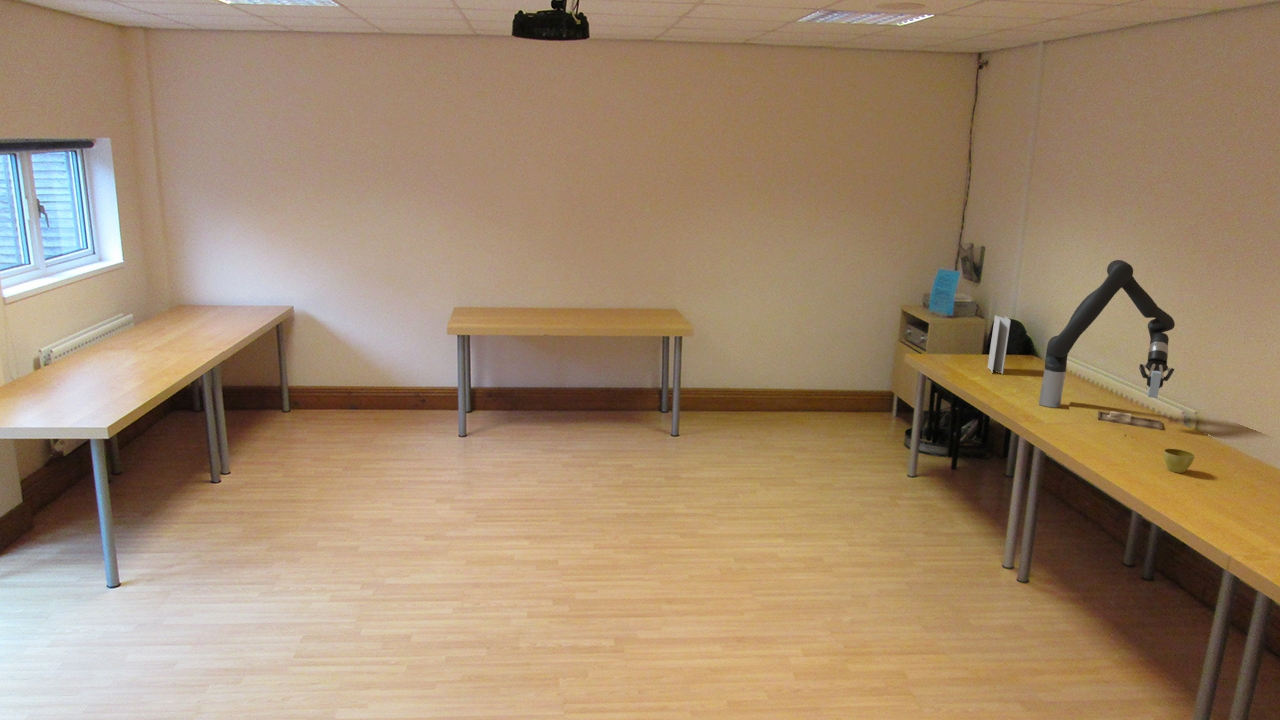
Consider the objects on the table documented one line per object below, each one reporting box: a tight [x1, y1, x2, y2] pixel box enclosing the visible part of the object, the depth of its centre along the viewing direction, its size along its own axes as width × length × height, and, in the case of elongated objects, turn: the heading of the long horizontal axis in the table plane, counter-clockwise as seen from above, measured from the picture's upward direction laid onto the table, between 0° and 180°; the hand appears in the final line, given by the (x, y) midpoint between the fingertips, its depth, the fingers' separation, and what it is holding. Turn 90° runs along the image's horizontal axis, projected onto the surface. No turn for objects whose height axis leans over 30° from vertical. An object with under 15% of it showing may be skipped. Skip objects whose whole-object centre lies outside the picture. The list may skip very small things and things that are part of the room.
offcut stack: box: [1107, 410, 1132, 422], centre depth 389 cm, size 9×4×4 cm, turn 63°
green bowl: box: [1163, 448, 1196, 474], centre depth 331 cm, size 10×10×7 cm
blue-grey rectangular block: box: [1147, 370, 1162, 399], centre depth 385 cm, size 3×5×11 cm, turn 153°
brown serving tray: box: [1097, 410, 1164, 431], centre depth 391 cm, size 25×13×2 cm, turn 63°
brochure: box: [987, 314, 1012, 375], centre depth 480 cm, size 14×6×30 cm, turn 168°
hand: (1154, 386), depth 383 cm, fingers closed on blue-grey rectangular block, 3 cm apart
